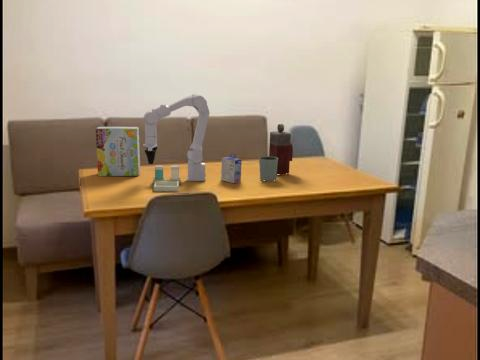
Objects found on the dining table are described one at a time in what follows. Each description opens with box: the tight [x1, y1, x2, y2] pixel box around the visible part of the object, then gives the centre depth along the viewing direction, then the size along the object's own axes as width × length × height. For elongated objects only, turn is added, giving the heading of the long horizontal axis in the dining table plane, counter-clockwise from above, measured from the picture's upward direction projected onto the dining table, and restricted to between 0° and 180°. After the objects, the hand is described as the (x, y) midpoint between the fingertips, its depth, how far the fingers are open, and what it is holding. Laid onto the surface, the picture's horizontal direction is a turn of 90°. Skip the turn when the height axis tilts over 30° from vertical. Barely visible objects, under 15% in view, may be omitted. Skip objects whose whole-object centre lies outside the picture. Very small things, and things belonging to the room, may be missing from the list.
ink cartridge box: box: [220, 152, 242, 184], centre depth 261 cm, size 10×6×14 cm, turn 48°
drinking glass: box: [258, 155, 278, 182], centre depth 266 cm, size 10×10×12 cm
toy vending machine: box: [268, 123, 294, 174], centre depth 281 cm, size 9×11×28 cm
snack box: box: [95, 126, 141, 177], centre depth 266 cm, size 22×9×26 cm, turn 95°
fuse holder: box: [152, 176, 182, 186], centre depth 253 cm, size 14×7×3 cm, turn 96°
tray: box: [153, 181, 180, 192], centre depth 244 cm, size 12×11×2 cm
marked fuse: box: [154, 165, 164, 179], centre depth 252 cm, size 4×3×8 cm
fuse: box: [170, 165, 180, 179], centre depth 253 cm, size 4×3×8 cm
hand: (151, 162), depth 254 cm, fingers open, 7 cm apart
